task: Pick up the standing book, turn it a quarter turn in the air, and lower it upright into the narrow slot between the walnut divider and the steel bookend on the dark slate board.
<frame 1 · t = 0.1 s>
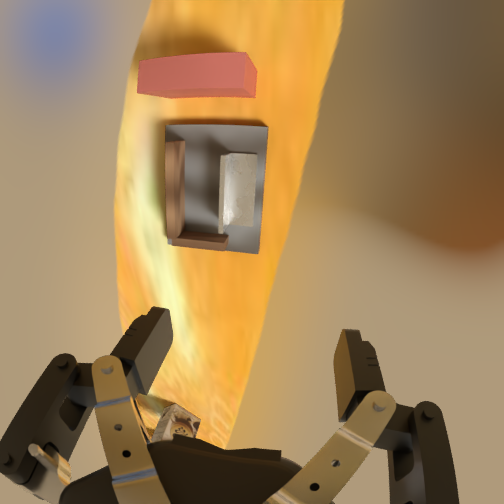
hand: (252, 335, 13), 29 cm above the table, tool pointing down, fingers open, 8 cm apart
book rack: (207, 186, 40), on the table
book: (212, 83, 33), on the table
bookend: (238, 193, 36), point 4 cm above the table
coffee box: (182, 413, 66), on the table
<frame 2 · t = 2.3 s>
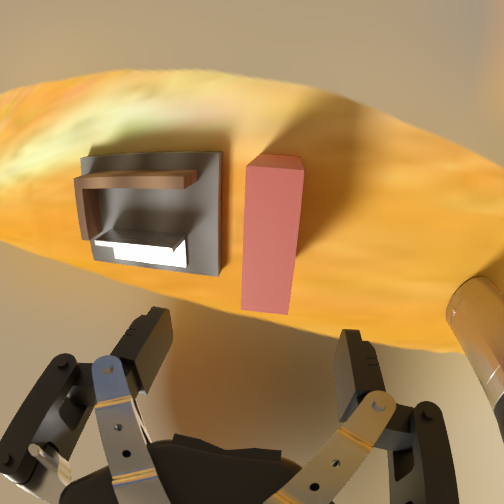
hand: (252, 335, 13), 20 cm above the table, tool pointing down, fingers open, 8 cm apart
book rack: (148, 202, 32), on the table
book: (276, 210, 30), on the table
bookend: (140, 253, 31), point 4 cm above the table
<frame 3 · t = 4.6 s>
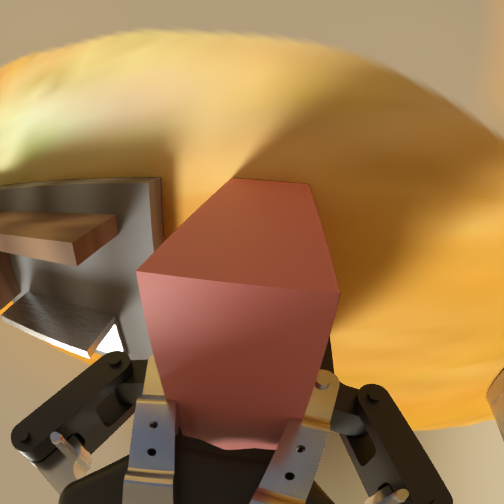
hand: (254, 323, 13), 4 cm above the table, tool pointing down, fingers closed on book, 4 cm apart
book rack: (65, 257, 18), on the table
book: (262, 282, 17), on the table, touching gripper
bookend: (59, 336, 17), point 4 cm above the table
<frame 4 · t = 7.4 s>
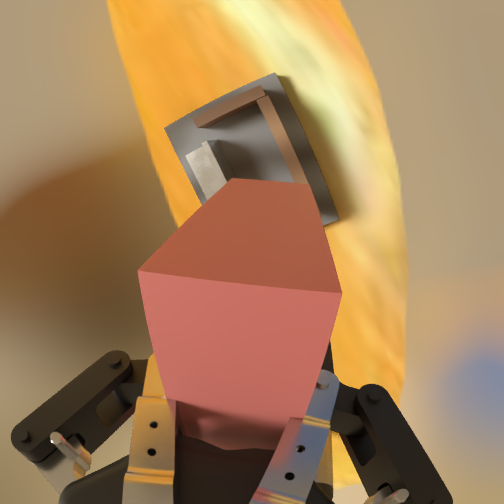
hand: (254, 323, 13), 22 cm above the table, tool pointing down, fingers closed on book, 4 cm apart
book rack: (260, 164, 32), on the table
book: (263, 282, 17), point 18 cm above the table, touching gripper
bookend: (216, 189, 30), point 4 cm above the table
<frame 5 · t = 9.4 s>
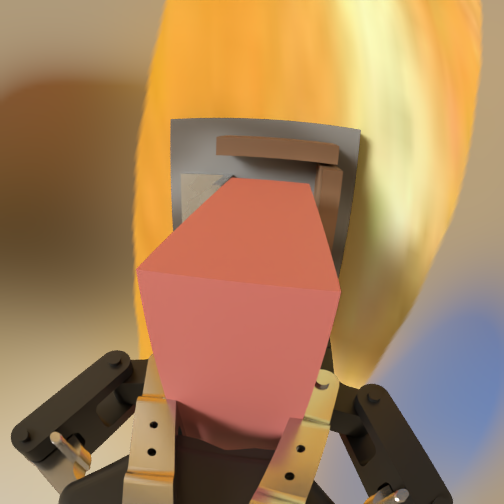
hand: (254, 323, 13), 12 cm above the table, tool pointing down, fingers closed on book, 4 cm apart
book rack: (271, 230, 24), on the table
book: (263, 282, 17), point 8 cm above the table, touching gripper
bookend: (200, 244, 21), point 4 cm above the table
when the fingers open (7 cm above the table, at t = 10.7 s): book drops 1 cm, resting on book rack.
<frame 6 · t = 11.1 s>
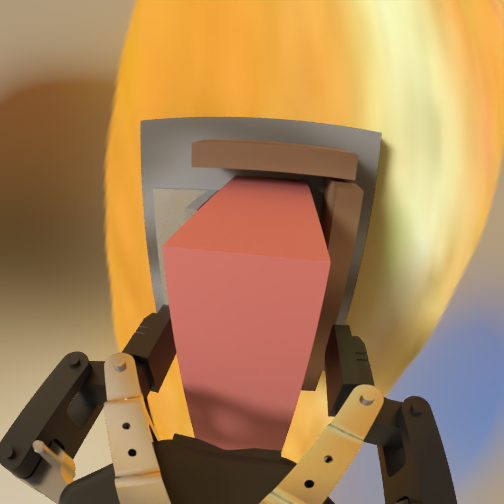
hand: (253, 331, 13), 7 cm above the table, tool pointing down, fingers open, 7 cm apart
book rack: (266, 257, 19), on the table
book: (264, 272, 18), point 1 cm above the table, touching book rack
bookend: (178, 278, 17), point 4 cm above the table
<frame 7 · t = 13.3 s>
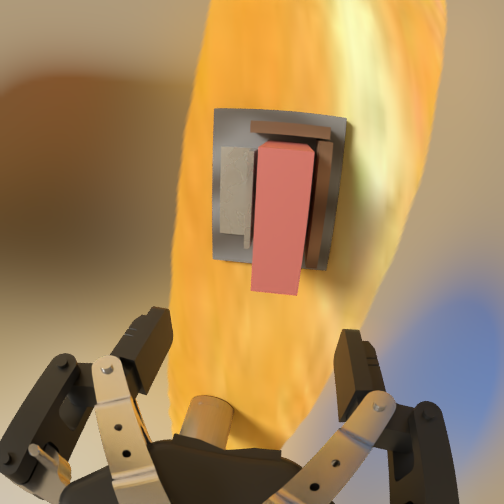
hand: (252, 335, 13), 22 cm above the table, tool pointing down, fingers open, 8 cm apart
book rack: (284, 189, 32), on the table
book: (283, 195, 31), point 1 cm above the table, touching book rack
bookend: (235, 195, 29), point 4 cm above the table
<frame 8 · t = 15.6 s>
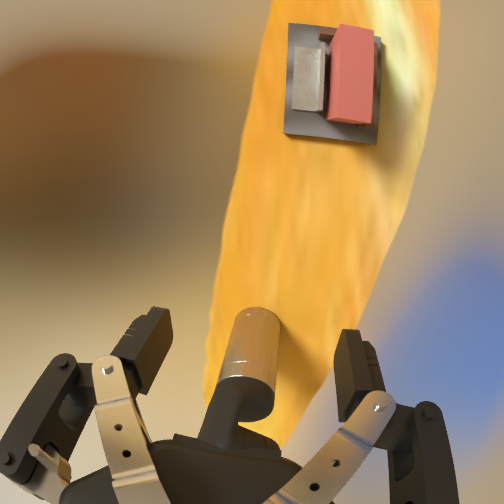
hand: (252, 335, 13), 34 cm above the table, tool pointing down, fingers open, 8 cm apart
book rack: (339, 82, 35), on the table
book: (341, 83, 34), point 1 cm above the table, touching book rack
bookend: (308, 76, 33), point 4 cm above the table
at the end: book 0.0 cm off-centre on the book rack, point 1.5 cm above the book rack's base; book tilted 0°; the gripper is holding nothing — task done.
